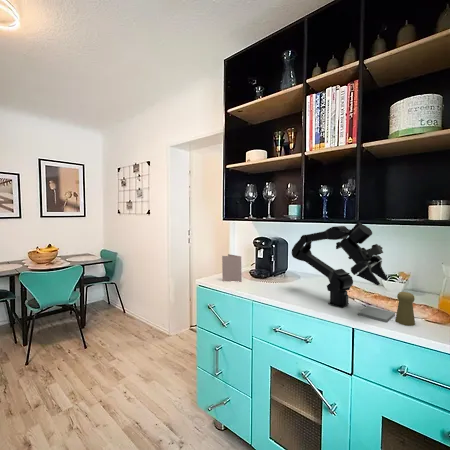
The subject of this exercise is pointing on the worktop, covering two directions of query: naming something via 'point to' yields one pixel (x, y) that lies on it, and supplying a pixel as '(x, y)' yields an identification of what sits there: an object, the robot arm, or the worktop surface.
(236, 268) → the greeting card
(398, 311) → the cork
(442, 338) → the worktop surface
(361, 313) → the plate
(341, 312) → the worktop surface
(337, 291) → the robot arm
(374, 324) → the worktop surface
